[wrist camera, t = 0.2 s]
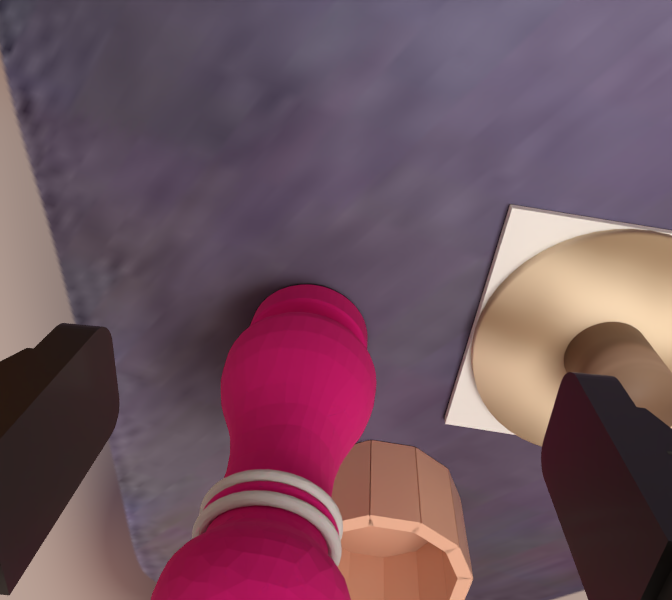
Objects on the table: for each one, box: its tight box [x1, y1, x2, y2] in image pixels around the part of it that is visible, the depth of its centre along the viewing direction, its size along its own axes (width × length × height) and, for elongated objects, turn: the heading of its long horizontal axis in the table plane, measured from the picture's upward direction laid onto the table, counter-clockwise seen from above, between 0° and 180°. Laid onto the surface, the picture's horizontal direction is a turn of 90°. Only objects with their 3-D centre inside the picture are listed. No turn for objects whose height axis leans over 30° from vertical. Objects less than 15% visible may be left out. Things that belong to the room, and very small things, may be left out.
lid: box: [471, 229, 672, 446], centre depth 27 cm, size 13×13×5 cm
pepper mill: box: [151, 285, 376, 600], centre depth 22 cm, size 7×7×20 cm
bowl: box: [331, 440, 473, 600], centre depth 34 cm, size 10×10×6 cm
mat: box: [444, 204, 672, 435], centre depth 29 cm, size 13×13×1 cm
